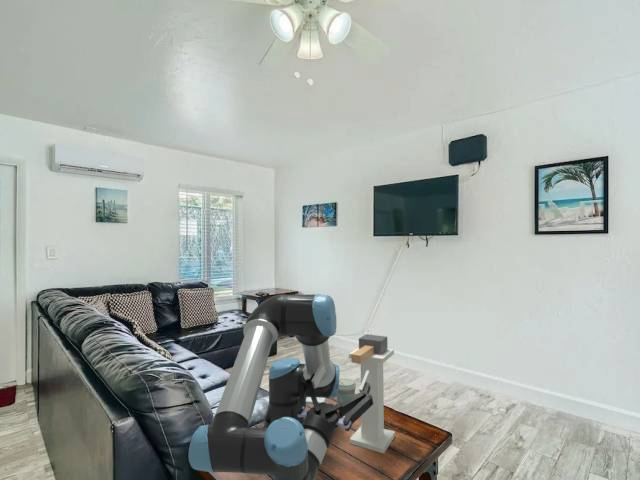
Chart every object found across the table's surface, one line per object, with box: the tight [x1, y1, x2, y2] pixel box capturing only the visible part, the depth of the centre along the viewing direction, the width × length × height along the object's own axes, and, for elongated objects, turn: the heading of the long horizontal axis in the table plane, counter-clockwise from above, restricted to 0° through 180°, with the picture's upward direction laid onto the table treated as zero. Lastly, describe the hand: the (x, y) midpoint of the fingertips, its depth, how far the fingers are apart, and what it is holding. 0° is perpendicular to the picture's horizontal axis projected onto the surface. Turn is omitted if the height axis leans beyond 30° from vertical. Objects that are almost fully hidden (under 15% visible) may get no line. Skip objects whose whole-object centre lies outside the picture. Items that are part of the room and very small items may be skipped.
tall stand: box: [348, 347, 396, 455], centre depth 117 cm, size 12×12×30 cm
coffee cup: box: [336, 378, 357, 416], centre depth 138 cm, size 8×9×12 cm
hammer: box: [350, 333, 389, 365], centre depth 114 cm, size 19×8×4 cm, turn 151°
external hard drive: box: [306, 397, 327, 405], centre depth 151 cm, size 2×8×12 cm
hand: (345, 370), depth 94 cm, fingers open, 13 cm apart
